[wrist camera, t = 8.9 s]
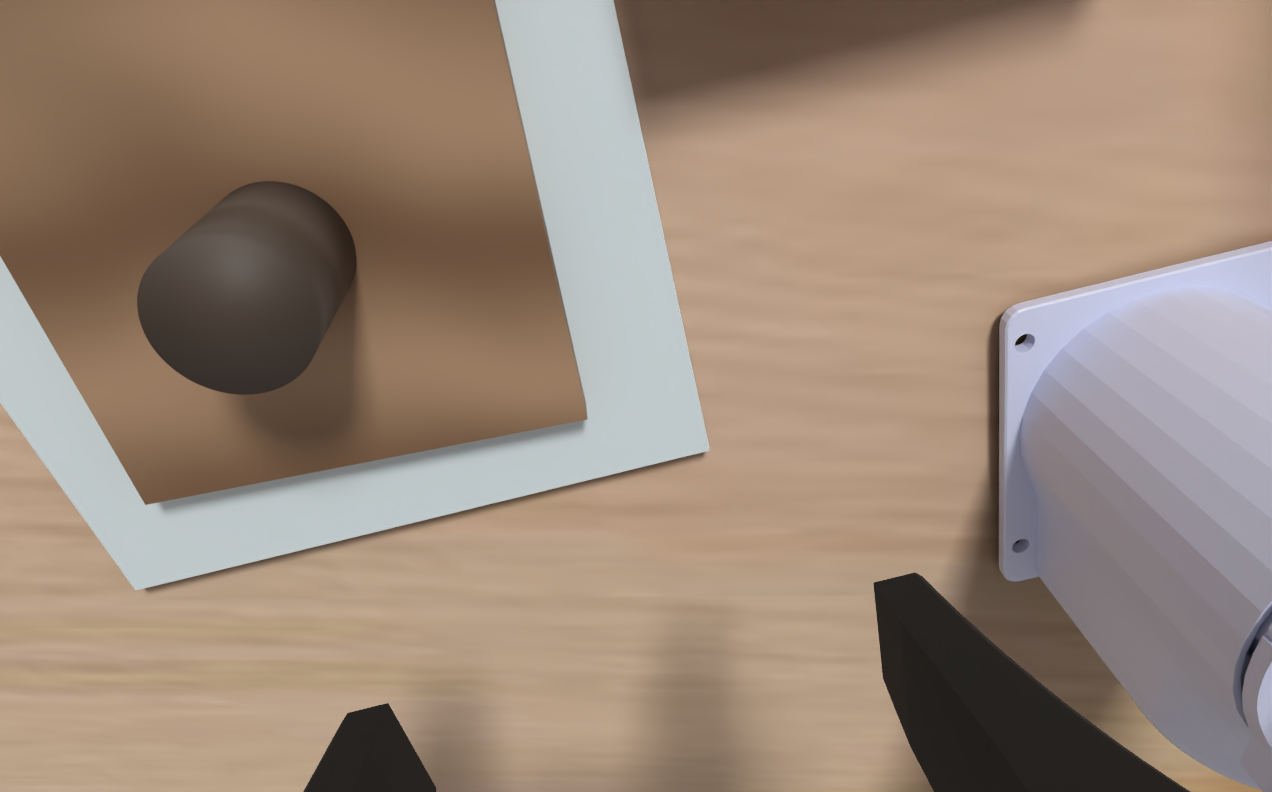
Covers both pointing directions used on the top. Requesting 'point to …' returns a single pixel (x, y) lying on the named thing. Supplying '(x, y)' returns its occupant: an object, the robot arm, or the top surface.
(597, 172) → the mat
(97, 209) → the lid
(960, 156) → the top surface
